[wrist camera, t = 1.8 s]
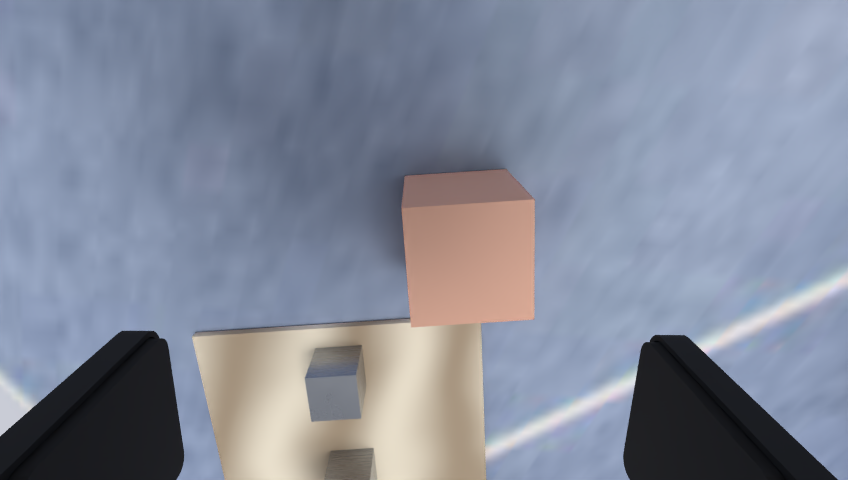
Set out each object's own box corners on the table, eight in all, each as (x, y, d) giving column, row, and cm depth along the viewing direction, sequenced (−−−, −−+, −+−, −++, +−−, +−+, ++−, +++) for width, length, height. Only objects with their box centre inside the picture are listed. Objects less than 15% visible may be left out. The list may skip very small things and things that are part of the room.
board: (479, 313, 29) (480, 318, 28) (485, 497, 33) (486, 503, 32) (195, 332, 29) (192, 336, 28) (236, 513, 33) (234, 519, 32)
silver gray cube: (361, 345, 29) (355, 375, 26) (366, 385, 29) (361, 418, 27) (315, 348, 29) (304, 378, 26) (321, 387, 29) (311, 421, 27)
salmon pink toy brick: (506, 169, 26) (534, 199, 20) (507, 263, 28) (534, 319, 22) (404, 175, 26) (401, 208, 20) (411, 269, 28) (411, 327, 22)
